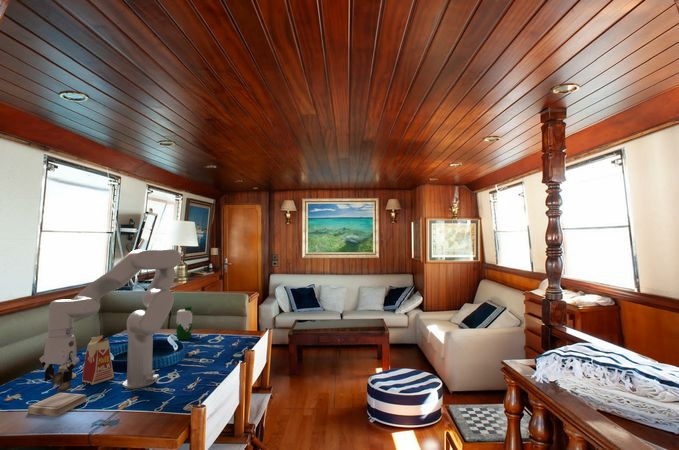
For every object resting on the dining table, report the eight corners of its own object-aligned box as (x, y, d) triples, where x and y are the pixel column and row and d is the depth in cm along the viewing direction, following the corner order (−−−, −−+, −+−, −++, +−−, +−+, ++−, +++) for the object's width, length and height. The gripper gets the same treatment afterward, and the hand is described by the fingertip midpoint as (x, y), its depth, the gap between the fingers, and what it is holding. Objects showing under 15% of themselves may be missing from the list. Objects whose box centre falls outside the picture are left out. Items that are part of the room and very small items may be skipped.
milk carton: (114, 377, 161) (115, 333, 162) (92, 385, 153) (94, 338, 154) (101, 374, 165) (102, 331, 166) (80, 381, 157) (81, 335, 158)
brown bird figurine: (41, 385, 130) (44, 387, 124) (55, 366, 134) (58, 367, 128) (62, 392, 134) (66, 395, 128) (75, 373, 138) (80, 375, 132)
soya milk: (190, 339, 224) (191, 307, 225) (175, 340, 222) (175, 308, 223) (192, 336, 233) (193, 305, 234) (177, 337, 230) (178, 306, 231)
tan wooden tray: (85, 401, 137) (86, 394, 137) (56, 416, 125) (56, 408, 125) (59, 399, 139) (59, 392, 139) (27, 413, 127) (28, 406, 127)
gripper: (89, 331, 136) (87, 378, 135) (50, 329, 138) (48, 375, 137) (71, 336, 128) (69, 386, 127) (31, 334, 131) (28, 383, 130)
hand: (58, 380), depth 132 cm, fingers closed on brown bird figurine, 7 cm apart
